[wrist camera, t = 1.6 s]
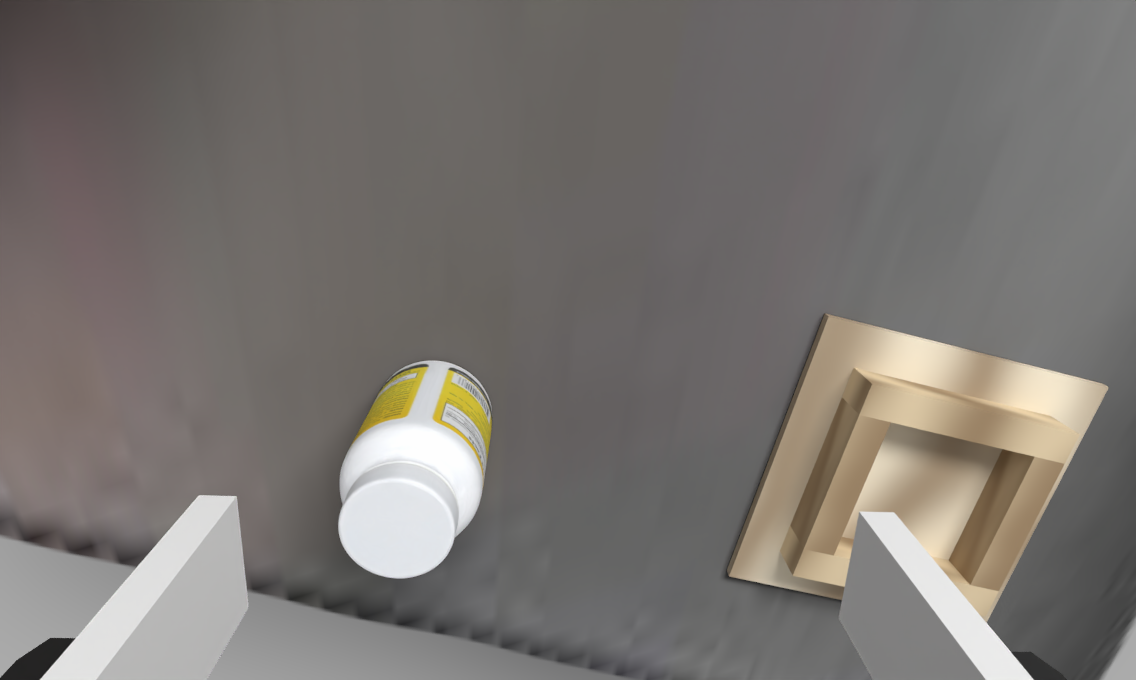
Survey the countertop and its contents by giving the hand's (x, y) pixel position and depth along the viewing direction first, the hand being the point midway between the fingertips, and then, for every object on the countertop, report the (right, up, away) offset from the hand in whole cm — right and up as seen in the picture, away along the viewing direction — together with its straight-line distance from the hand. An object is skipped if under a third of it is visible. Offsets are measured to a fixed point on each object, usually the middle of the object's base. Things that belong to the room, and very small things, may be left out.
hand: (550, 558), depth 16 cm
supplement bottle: (-6, +1, +19) cm, 20 cm away
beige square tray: (+17, -2, +20) cm, 27 cm away
